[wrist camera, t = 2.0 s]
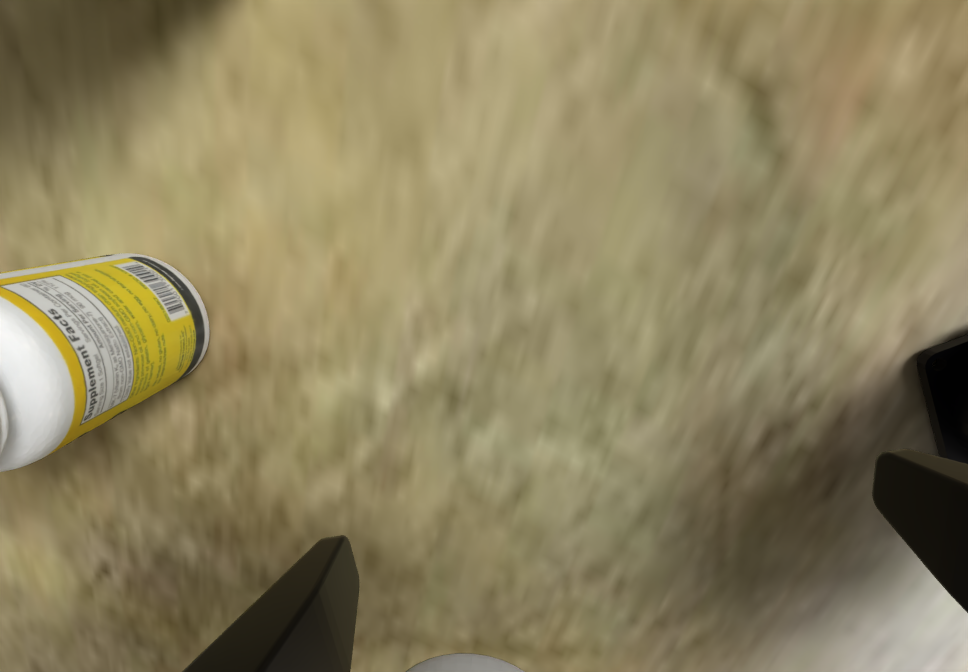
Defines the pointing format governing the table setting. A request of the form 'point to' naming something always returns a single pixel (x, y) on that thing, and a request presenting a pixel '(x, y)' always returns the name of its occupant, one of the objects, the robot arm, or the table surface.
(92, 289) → the supplement bottle
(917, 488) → the robot arm
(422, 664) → the glass holder
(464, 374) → the table surface
